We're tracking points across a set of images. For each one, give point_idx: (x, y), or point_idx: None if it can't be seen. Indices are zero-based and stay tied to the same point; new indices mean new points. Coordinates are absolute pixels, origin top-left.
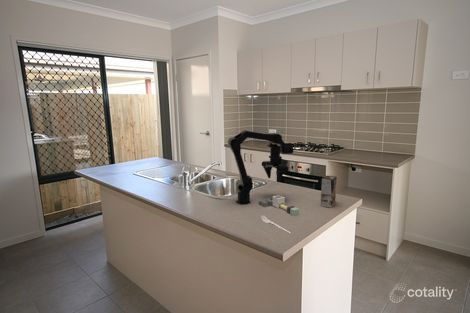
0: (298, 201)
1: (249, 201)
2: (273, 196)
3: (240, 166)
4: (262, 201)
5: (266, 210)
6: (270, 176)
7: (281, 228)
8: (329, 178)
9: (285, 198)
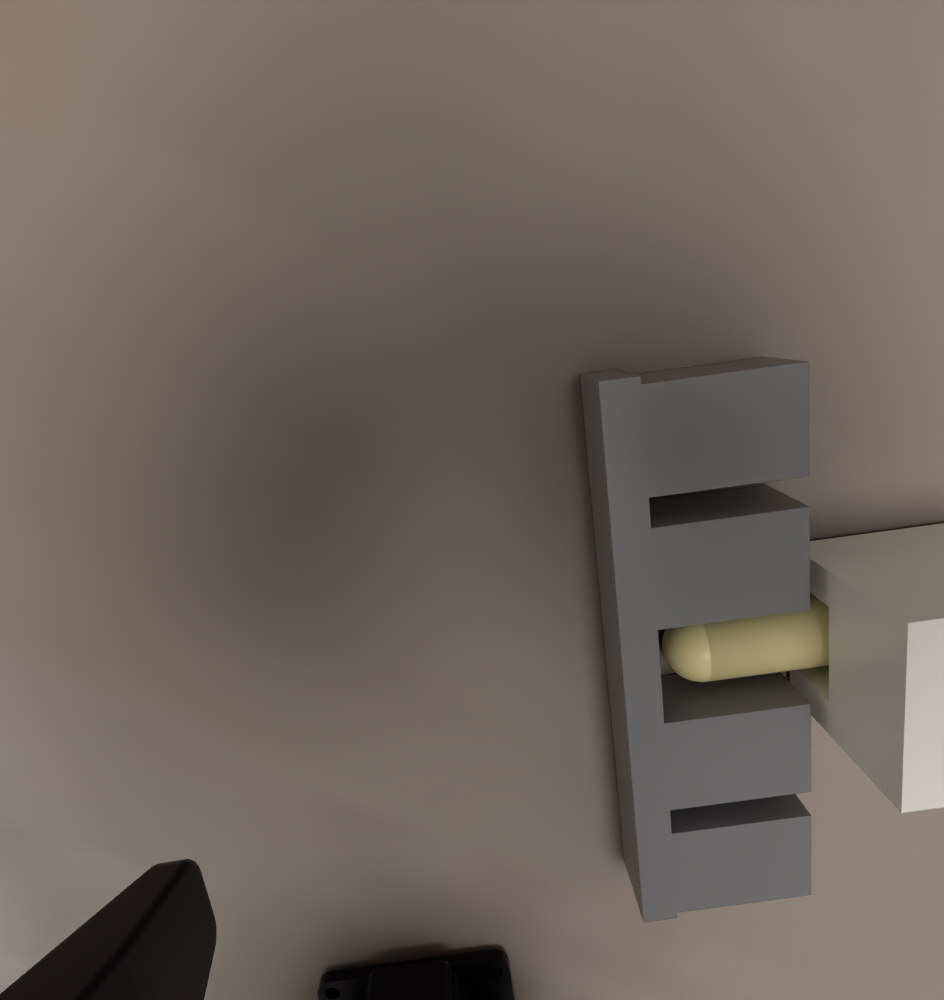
0: (873, 43)
1: (463, 967)
2: (915, 796)
3: None
4: (720, 889)
5: (911, 859)
6: (149, 926)
7: None
8: None
9: (807, 377)
